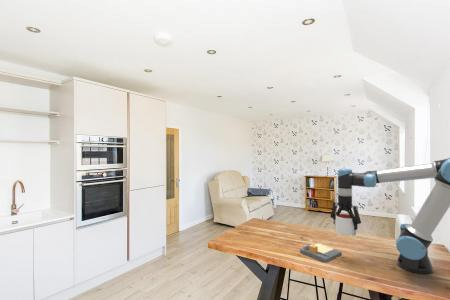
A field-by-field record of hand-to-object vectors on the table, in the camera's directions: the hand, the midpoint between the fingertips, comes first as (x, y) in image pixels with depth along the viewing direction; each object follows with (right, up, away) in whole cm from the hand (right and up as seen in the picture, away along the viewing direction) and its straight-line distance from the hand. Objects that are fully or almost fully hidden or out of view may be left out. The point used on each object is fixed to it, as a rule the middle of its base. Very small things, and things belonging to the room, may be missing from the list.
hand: (345, 232), depth 144 cm
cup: (0, -1, 0) cm, 1 cm away
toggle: (-16, -15, +6) cm, 23 cm away
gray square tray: (-11, -17, +9) cm, 22 cm away
